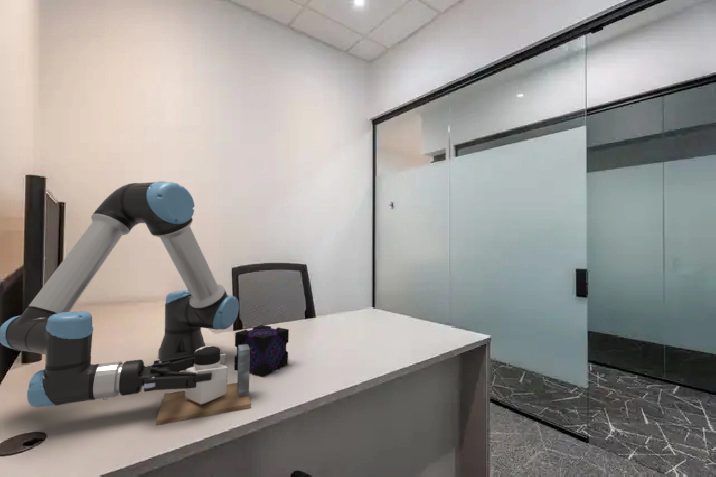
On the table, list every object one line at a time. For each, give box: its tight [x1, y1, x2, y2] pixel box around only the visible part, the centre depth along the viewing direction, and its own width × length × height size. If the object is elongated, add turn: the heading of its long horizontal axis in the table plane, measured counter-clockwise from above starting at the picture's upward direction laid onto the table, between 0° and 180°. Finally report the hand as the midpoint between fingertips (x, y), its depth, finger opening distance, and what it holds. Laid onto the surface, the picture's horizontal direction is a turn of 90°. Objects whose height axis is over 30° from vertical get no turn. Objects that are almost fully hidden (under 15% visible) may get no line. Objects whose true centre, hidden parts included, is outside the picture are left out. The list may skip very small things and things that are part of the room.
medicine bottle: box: [184, 345, 228, 405], centre depth 82 cm, size 7×7×12 cm
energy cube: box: [233, 324, 290, 378], centre depth 106 cm, size 12×12×12 cm
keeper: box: [155, 344, 252, 426], centre depth 82 cm, size 20×14×13 cm
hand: (225, 365), depth 84 cm, fingers closed on medicine bottle, 10 cm apart
